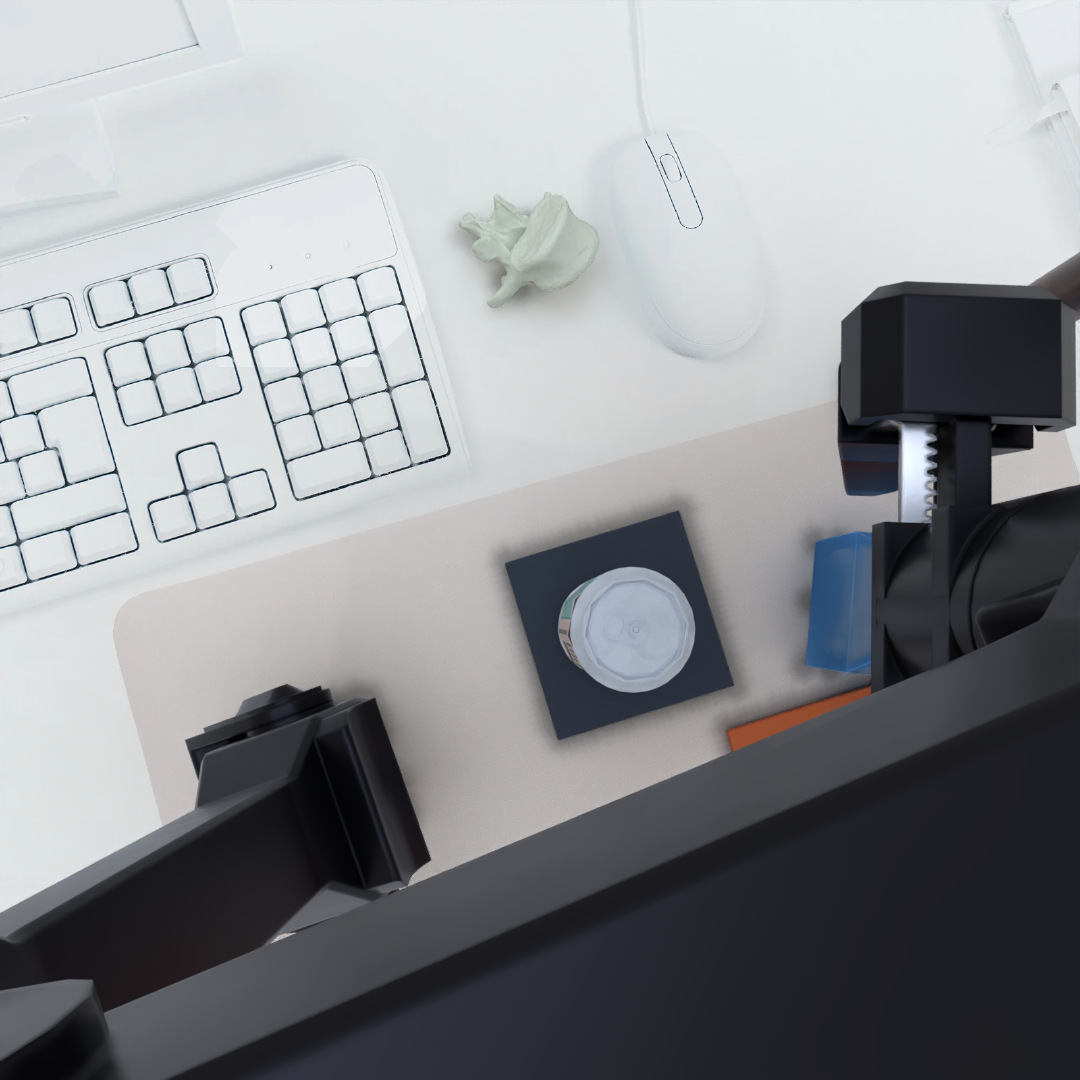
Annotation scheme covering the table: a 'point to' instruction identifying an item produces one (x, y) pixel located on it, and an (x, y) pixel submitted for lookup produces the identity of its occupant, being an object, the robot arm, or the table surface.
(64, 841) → the table surface
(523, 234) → the vertebra
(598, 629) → the beer can
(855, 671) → the perfume bottle
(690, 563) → the slate mat
